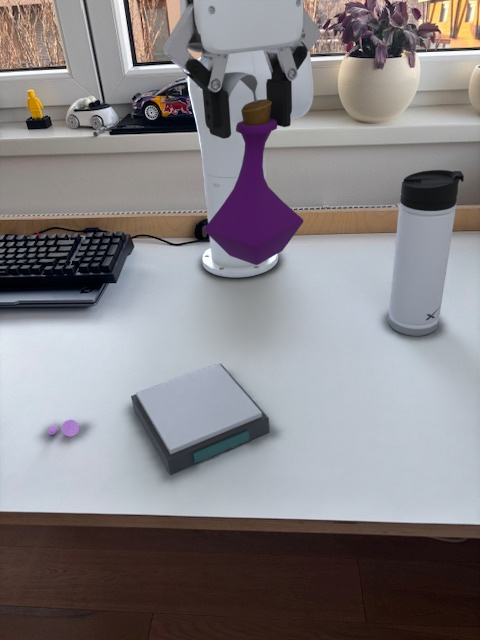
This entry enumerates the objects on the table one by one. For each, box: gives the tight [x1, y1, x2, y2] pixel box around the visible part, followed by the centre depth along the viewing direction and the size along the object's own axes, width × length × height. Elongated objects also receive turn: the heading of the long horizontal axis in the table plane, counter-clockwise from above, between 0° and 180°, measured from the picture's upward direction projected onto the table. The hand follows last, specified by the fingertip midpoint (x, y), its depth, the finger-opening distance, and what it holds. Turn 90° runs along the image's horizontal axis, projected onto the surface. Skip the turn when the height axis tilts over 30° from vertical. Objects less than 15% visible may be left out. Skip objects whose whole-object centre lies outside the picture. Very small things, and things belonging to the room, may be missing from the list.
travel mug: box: [387, 169, 465, 337], centre depth 66 cm, size 6×7×20 cm
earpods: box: [47, 419, 80, 438], centre depth 58 cm, size 3×2×2 cm
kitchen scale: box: [130, 362, 270, 475], centre depth 57 cm, size 11×11×3 cm
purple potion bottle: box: [203, 72, 304, 265], centre depth 53 cm, size 8×8×18 cm
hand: (250, 128), depth 51 cm, fingers closed on purple potion bottle, 5 cm apart
